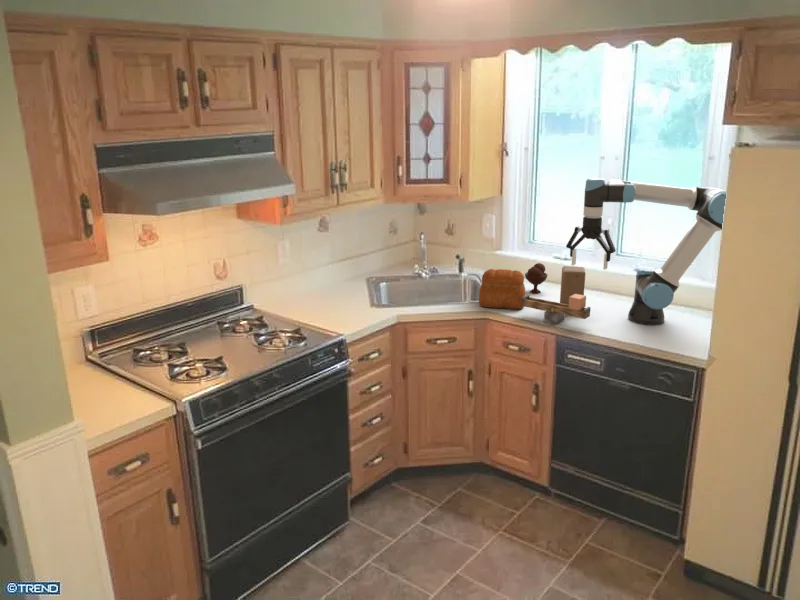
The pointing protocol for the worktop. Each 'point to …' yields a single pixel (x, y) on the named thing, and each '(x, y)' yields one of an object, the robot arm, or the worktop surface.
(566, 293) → the wooden block
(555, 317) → the beam
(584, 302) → the block
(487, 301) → the bread
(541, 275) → the ice cream bowl
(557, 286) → the worktop surface
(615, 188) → the robot arm
